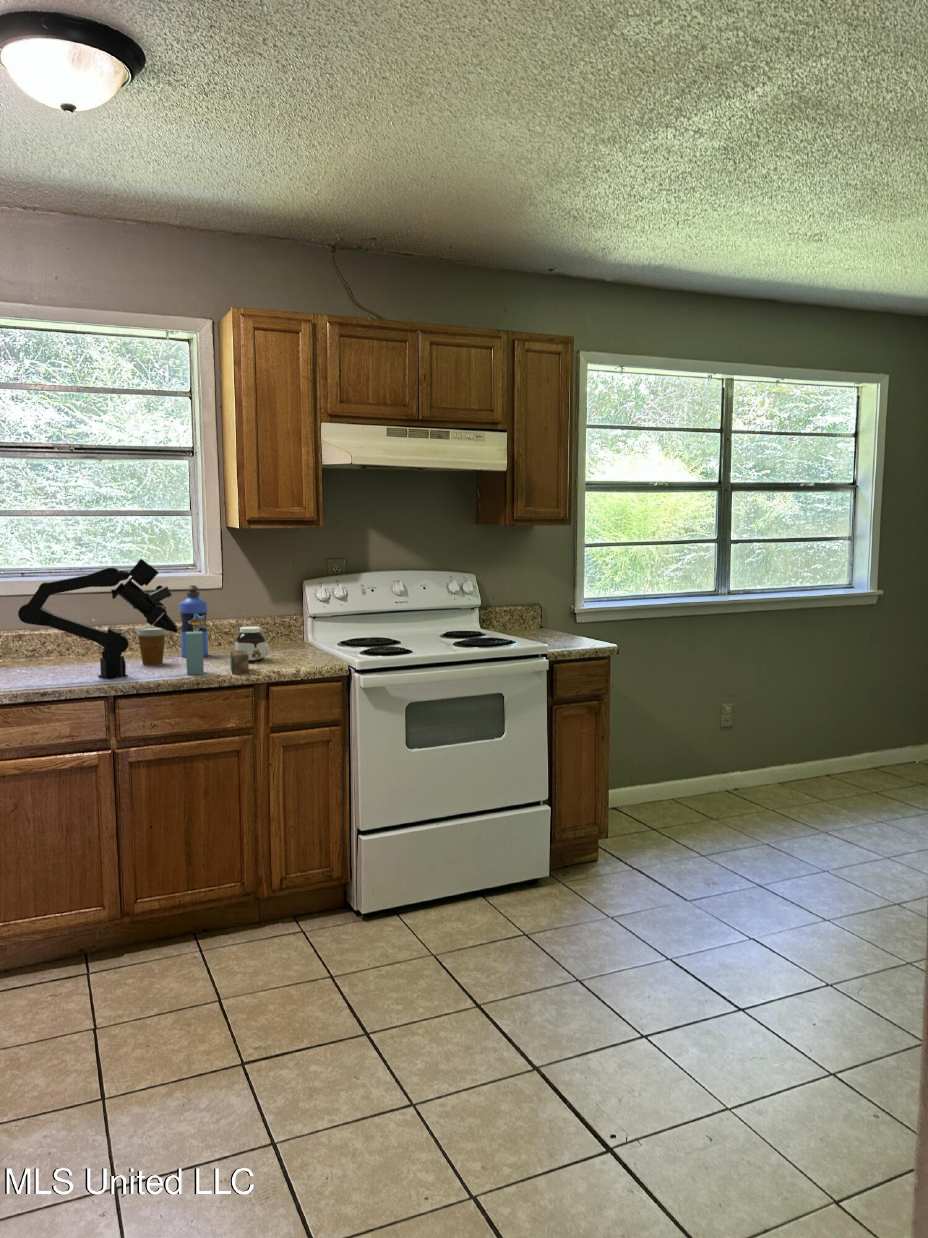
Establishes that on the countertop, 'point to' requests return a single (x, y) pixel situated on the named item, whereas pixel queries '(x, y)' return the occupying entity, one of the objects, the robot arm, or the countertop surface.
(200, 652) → the teal block
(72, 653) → the countertop surface
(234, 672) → the block
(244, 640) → the spread jar
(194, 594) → the water bottle
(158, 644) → the disposable coffee cup
